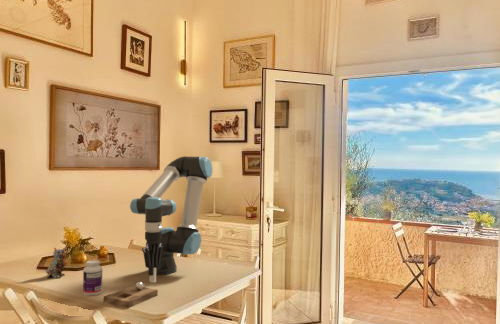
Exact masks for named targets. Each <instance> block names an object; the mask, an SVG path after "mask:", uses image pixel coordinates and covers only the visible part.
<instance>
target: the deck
mask: <svg viewBox="0 0 500 324" xmlns="http://www.w3.org/2000/svg"><path fill="white" fill-rule="evenodd" d="M135 285H136V284H135ZM135 285H134V284H133V285H131V286H127V287H124V288H123V289H120V290H117V291H114V292H112V293H109V294H106V295H103V303H104V304H105V303H106V304H109V305H110V304H111V305H114V306H118V307H123V308H127V309H129V308H132V307H134V306H137V305H139V304H141V303H143V302H146V301H149V300H151V299H152V298H154V297H155V298H156V297H157V296H158V295H159V294H158V293H159V292H158V291H159V290H158V289H156V288H152V287H151V288H150V287H145V286H143V288H142V289H141V290H137V289H136V287H135Z"/></svg>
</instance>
